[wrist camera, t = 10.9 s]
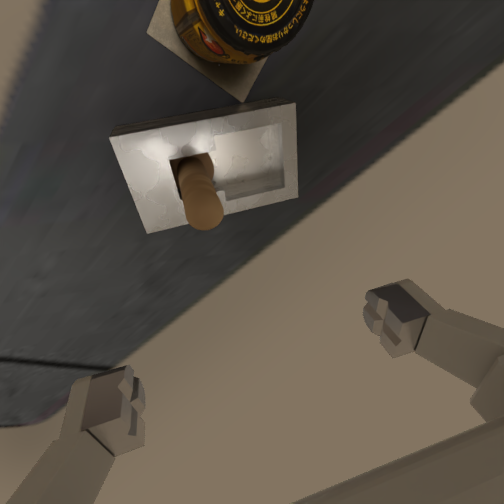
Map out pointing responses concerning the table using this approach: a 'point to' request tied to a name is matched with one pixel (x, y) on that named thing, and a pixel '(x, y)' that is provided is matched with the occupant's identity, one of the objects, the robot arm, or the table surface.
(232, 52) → the condiment
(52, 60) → the table surface
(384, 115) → the table surface
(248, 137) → the keyhole plate
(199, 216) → the peg
